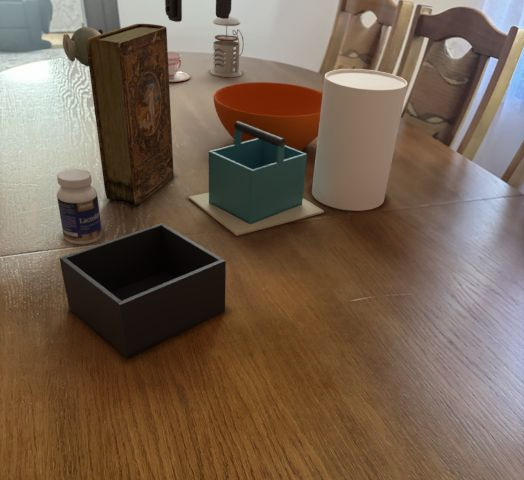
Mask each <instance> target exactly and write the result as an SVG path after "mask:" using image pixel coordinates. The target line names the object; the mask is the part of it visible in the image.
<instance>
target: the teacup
mask: <svg viewBox="0 0 524 480" xmlns="http://www.w3.org/2000/svg"><path fill="white" fill-rule="evenodd" d="M181 58H182V54H181V53H180V52H176V51H168V69H169V83H178V82H183V81H187V80H189V79H190V78H191V77H190V74H189V73H186V72H184V71H181V70H180V69H181V65H182V60H181ZM179 70H180V71H179Z"/></svg>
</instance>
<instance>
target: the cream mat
mask: <svg viewBox="0 0 524 480" xmlns="http://www.w3.org/2000/svg"><path fill="white" fill-rule="evenodd" d="M188 199H189V200H190V201H191V202H192V203H194V204H195V205H196V206H198V207H199V208H200V209H201V210H203V211H204V212H205V213H207V214H208V215H209V216H211V217H212V218H213V219H214V220H215V221H217V222H218V223H219V224H221V225H222V226H223V227H224V228H226V229H227V230H228V231H230V232H231V233H233V234H234V235H235V236H236V237H238V236H241V235H246V234H250V233H253V232H258V231H260V230H265V229H268V228H272V227H276V226H279V225H284V224H287V223H291V222H295V221H299V220H302V219H306V218H310V217H314V216H317V215H322V214H324V213H325V210H324V209H322V208H321V207H318V206H317V205H315V204H314V203H312V202H311V201H309V200H307V199H306V198H304V197H303V200H302V205H300V206H297V207H294V208H292V209H289V210H287V211H284V212H281V213H279V214H276V215H274V216H271V217H268V218H266V219H263V220H261V221H258V222H255V223H253V224H249V223H247V222H245V221H243V220H241V219H239V218H237V217H235V216H233V215H231V214H229V213H228V212H226V211H224V210H222V209H220V208H218V207H216V206H214V205H212V204H210V203H209V191H208V192H204V193H199V194H195V195H189V196H188Z"/></svg>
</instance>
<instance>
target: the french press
mask: <svg viewBox="0 0 524 480" xmlns="http://www.w3.org/2000/svg"><path fill="white" fill-rule="evenodd" d="M212 23H213V24H214V25H216V26H222V27H225V34H217V35H214V39H215V41H213V49H212V50H213V67H212V69H211V70H210V71H209V72H210V74H211V75H212V76H216V77H221V78H233V77H240V76H242V75H243V73H242V71H241V70H240V57H241V56H242V54H243V52H244V45H245V43H244V35H243V33H242V32H241V30H240V29H237V30H235V29H232V32H233V33H232V35H230V34H228V27H237V26H240V25H241V21H240V20H239V19H238V18H237V17H234V16H233V15H232V16H231V15H229V18H228V19H222V18H218V17H216V18H215V19H214V20H212ZM238 33H240V36H241V40H242V49H241V53H240V38H239V35H238Z"/></svg>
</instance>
